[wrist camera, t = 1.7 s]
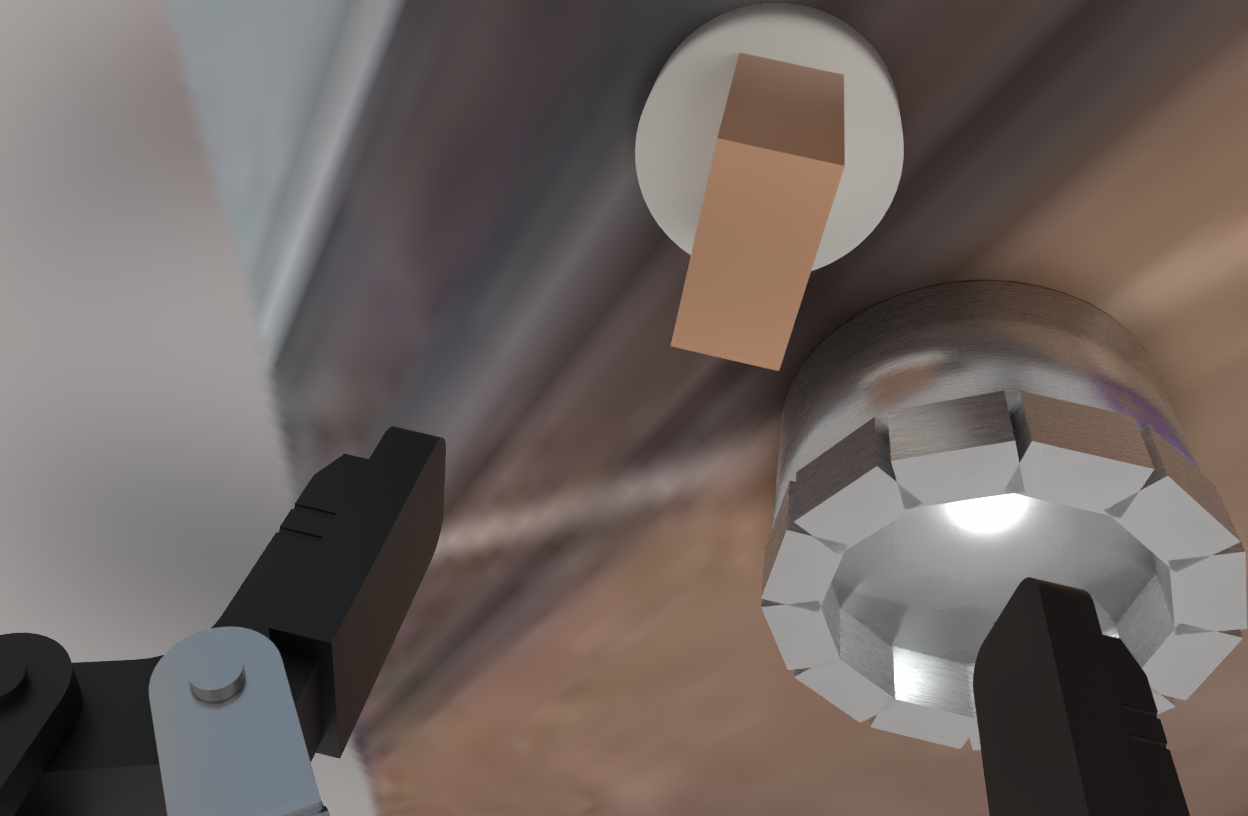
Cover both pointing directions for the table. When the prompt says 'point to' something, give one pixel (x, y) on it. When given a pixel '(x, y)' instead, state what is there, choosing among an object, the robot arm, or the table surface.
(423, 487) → the robot arm
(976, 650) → the glass candle holder
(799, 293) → the knob lid with grip
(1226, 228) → the table surface
